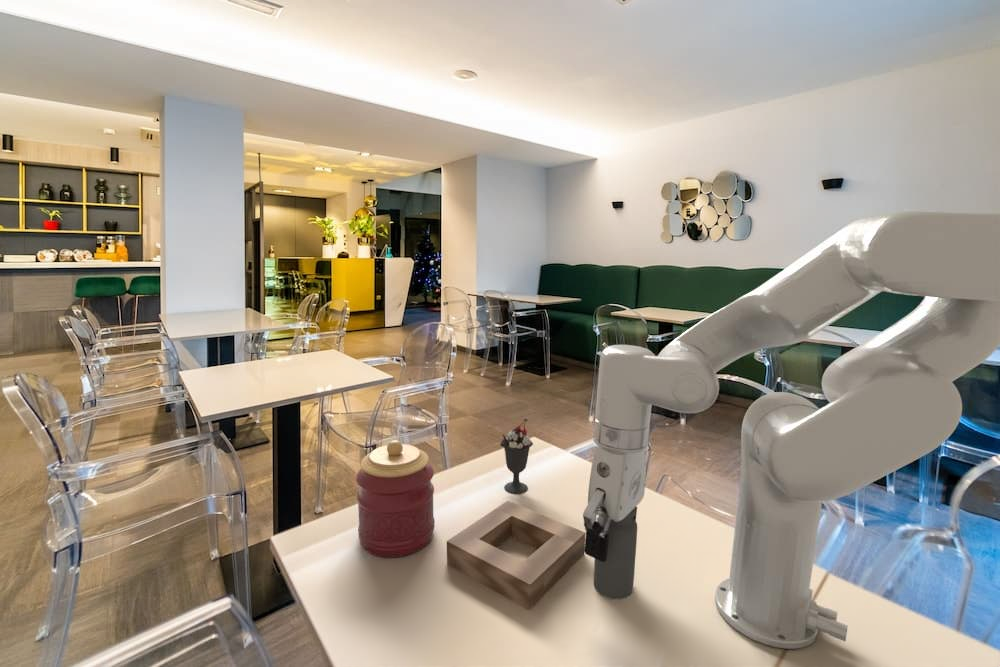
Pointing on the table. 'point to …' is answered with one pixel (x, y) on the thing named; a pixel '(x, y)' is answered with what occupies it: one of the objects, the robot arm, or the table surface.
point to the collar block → (508, 573)
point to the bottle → (617, 558)
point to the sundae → (516, 457)
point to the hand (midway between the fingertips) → (610, 541)
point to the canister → (395, 500)
